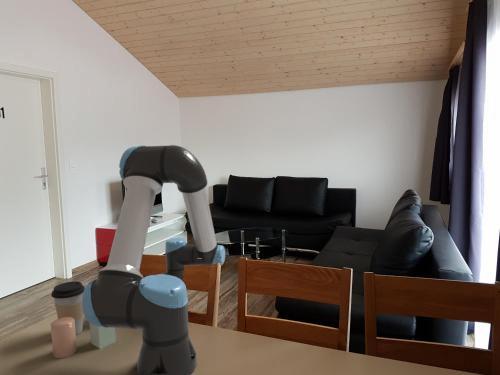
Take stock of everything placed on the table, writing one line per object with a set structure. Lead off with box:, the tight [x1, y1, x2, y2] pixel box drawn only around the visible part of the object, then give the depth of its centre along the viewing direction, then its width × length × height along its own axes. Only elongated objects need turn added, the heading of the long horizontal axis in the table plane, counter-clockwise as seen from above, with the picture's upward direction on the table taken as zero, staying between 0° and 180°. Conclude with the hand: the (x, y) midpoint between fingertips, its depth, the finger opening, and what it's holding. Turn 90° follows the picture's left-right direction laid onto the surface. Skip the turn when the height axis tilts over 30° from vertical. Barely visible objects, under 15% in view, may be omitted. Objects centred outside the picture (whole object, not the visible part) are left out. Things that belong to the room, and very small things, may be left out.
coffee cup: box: [50, 280, 86, 336], centre depth 116 cm, size 9×9×15 cm
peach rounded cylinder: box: [50, 317, 78, 359], centre depth 105 cm, size 6×6×9 cm
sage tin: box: [89, 323, 117, 350], centre depth 110 cm, size 5×5×8 cm
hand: (84, 306), depth 119 cm, fingers closed
